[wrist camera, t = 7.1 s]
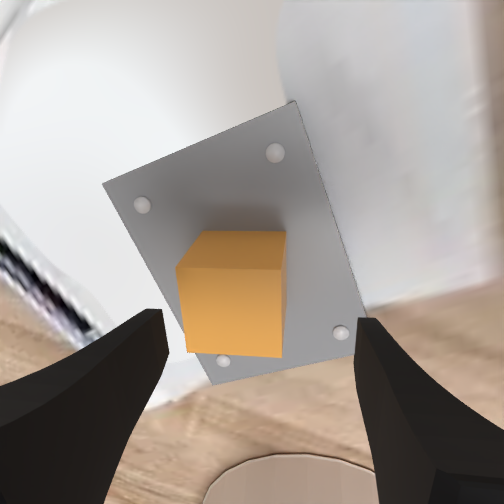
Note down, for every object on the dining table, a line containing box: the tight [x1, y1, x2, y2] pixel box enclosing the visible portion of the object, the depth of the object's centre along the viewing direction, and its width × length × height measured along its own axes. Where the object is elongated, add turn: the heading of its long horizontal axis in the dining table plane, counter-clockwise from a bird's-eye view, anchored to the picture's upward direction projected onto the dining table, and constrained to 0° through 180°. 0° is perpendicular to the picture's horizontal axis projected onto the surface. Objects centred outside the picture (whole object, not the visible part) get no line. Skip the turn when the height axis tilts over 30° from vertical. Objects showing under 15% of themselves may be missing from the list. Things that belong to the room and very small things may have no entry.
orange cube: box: [175, 231, 287, 358], centre depth 20 cm, size 5×5×5 cm
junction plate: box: [102, 101, 367, 385], centre depth 21 cm, size 16×12×4 cm
